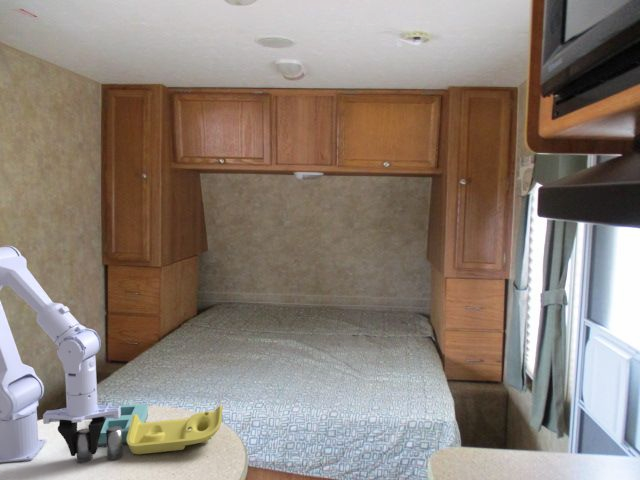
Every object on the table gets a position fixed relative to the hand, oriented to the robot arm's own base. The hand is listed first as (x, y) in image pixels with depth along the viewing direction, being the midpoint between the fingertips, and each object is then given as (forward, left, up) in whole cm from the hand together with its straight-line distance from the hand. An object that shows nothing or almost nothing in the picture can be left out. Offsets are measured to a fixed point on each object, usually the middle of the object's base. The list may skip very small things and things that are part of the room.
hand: (84, 452), depth 104 cm
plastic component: (+18, +3, -1) cm, 19 cm away
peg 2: (+6, 0, -1) cm, 6 cm away
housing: (+5, +12, -1) cm, 13 cm away
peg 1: (0, 0, -1) cm, 1 cm away
